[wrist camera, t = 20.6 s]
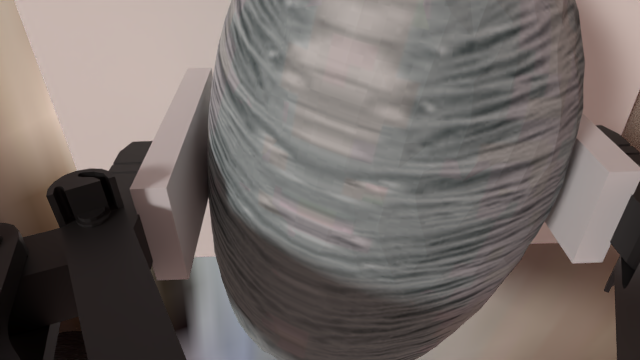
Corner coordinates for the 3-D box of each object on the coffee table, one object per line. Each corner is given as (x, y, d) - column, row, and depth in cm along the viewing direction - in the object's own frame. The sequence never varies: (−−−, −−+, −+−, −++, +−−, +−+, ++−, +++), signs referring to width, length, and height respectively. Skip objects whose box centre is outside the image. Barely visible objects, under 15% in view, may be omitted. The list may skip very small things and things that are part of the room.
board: (115, 248, 23) (110, 260, 22) (-48, -213, 13) (-66, -216, 12) (570, 230, 23) (578, 242, 23) (744, -223, 13) (767, -226, 13)
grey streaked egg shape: (459, 330, 19) (421, 575, 10) (254, 236, 21) (72, 365, 12) (624, -27, 15) (830, -175, 5) (342, -95, 17) (158, -277, 8)
